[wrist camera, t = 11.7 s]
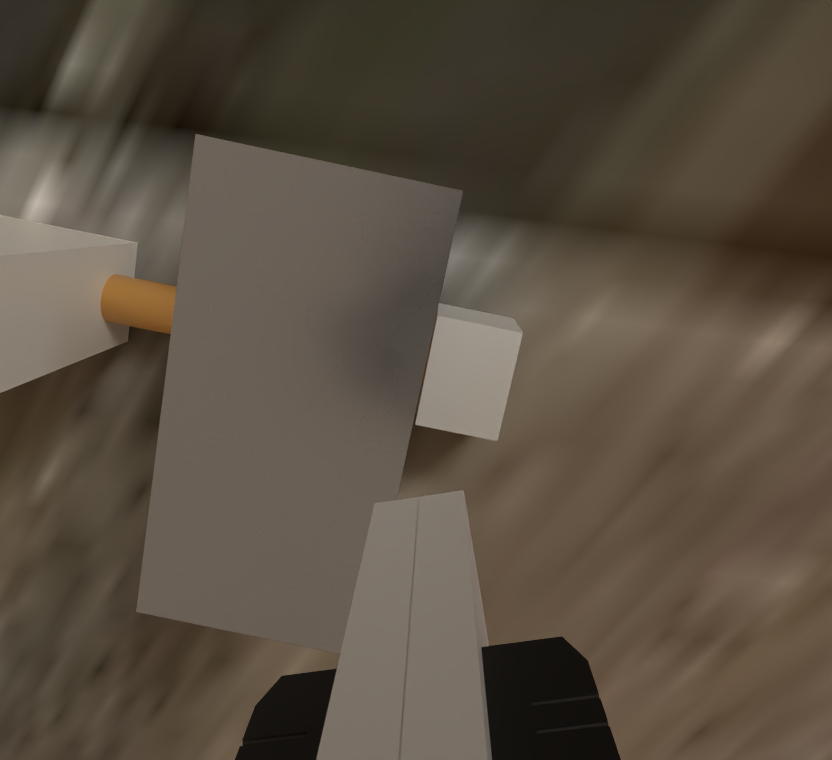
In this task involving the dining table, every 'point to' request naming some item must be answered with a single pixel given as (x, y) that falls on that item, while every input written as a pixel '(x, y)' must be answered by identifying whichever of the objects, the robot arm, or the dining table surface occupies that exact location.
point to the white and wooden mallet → (153, 310)
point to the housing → (288, 386)
